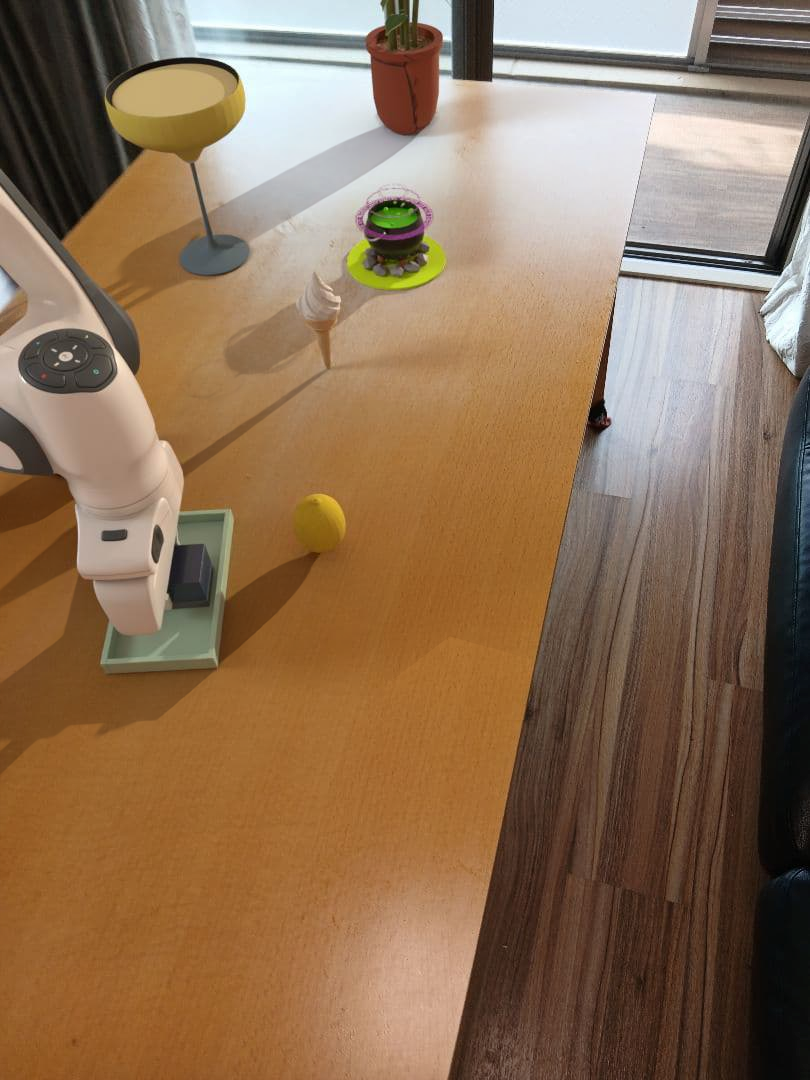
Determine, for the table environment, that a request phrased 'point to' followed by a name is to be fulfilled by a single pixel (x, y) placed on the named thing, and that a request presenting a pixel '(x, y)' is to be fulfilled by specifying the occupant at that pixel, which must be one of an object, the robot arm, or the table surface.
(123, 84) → the cocktail glass
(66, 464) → the robot arm
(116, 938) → the table surface
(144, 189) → the table surface
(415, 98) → the potted plant
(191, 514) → the tray
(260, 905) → the table surface
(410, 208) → the toy cauldron
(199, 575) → the eraser
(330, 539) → the lemon
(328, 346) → the ice cream cone
